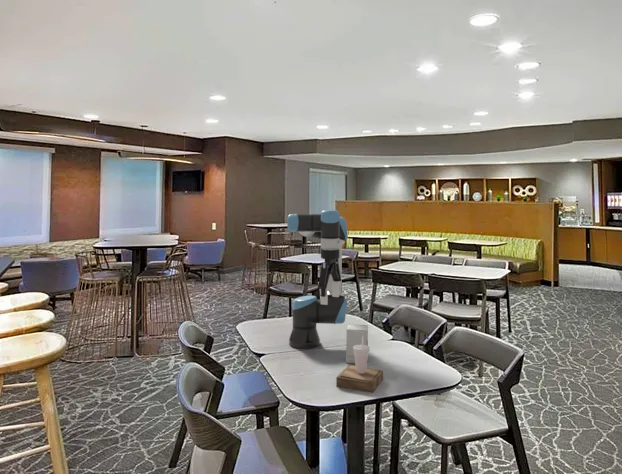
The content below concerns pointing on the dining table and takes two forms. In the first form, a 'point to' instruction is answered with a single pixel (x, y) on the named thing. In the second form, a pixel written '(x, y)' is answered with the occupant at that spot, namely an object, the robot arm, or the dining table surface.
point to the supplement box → (355, 339)
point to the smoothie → (361, 357)
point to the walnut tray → (359, 379)
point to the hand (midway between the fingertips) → (329, 300)
